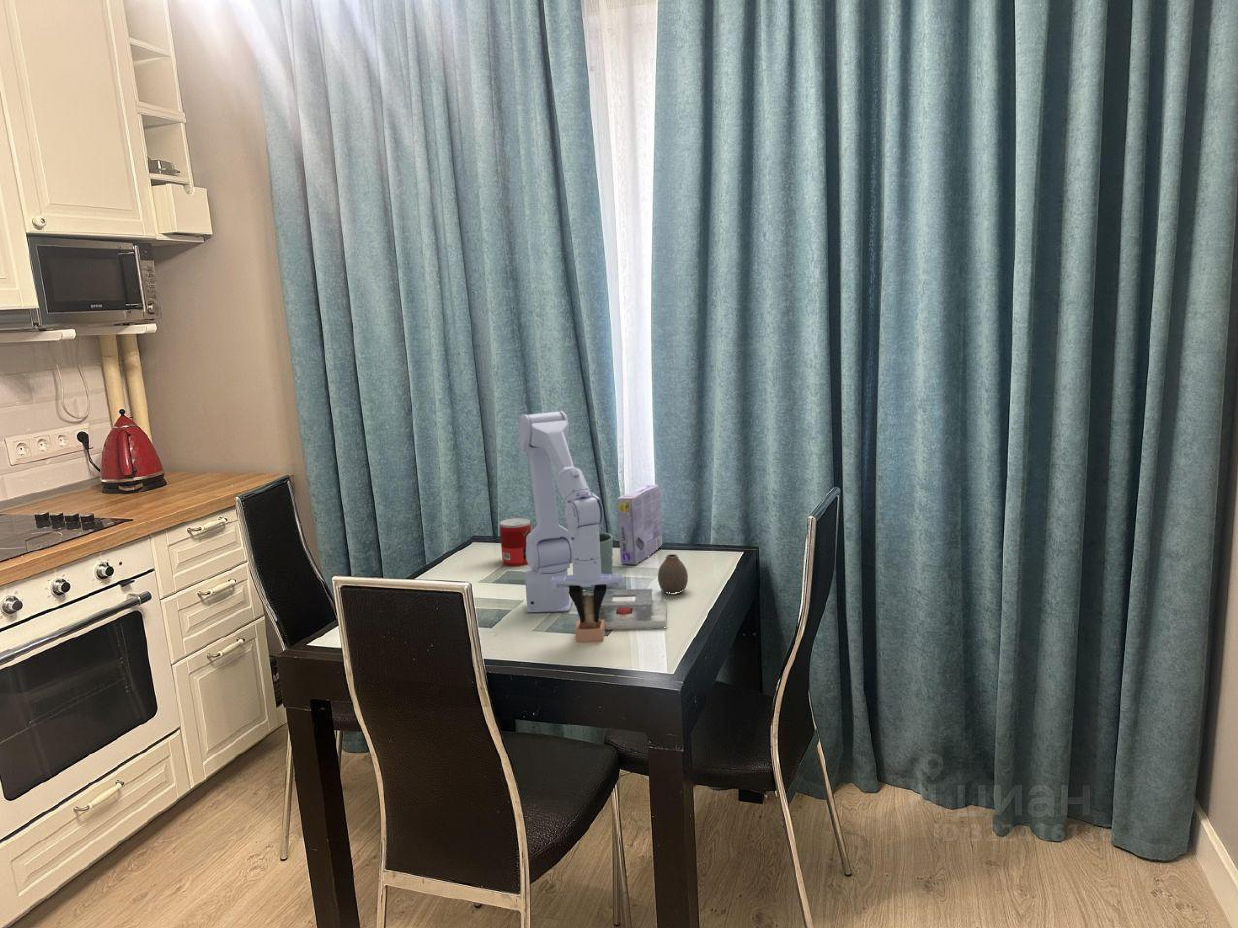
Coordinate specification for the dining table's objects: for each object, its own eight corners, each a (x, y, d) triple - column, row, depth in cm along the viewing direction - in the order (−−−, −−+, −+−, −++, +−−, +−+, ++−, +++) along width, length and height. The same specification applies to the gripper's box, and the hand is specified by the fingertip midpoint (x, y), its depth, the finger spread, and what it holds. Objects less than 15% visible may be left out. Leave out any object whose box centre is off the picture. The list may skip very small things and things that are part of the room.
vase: (663, 598, 208) (662, 561, 206) (654, 589, 214) (653, 553, 213) (692, 594, 209) (691, 557, 208) (682, 585, 216) (681, 549, 214)
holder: (575, 641, 184) (574, 630, 184) (578, 631, 190) (577, 620, 189) (603, 641, 184) (602, 629, 183) (605, 630, 189) (604, 619, 189)
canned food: (531, 565, 237) (528, 524, 235) (500, 566, 237) (497, 526, 235) (534, 557, 244) (531, 517, 242) (504, 558, 245) (501, 518, 243)
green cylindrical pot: (610, 593, 213) (607, 543, 211) (568, 592, 215) (565, 542, 213) (618, 579, 223) (616, 531, 220) (578, 578, 225) (576, 531, 222)
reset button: (617, 619, 195) (617, 608, 194) (618, 614, 198) (617, 603, 197) (630, 619, 195) (630, 608, 194) (631, 614, 198) (630, 603, 197)
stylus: (583, 632, 186) (581, 597, 184) (585, 628, 188) (583, 593, 187) (595, 632, 185) (593, 597, 184) (596, 628, 188) (595, 593, 186)
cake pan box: (648, 544, 251) (646, 482, 248) (665, 546, 249) (663, 483, 246) (618, 565, 234) (615, 498, 231) (636, 566, 232) (633, 499, 229)
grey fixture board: (580, 630, 190) (578, 610, 190) (585, 608, 203) (584, 589, 202) (666, 628, 189) (665, 608, 188) (666, 606, 202) (665, 587, 201)
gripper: (547, 563, 180) (551, 628, 183) (621, 561, 179) (624, 626, 182) (552, 553, 187) (556, 615, 190) (622, 551, 186) (625, 614, 189)
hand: (589, 620), depth 186 cm, fingers closed on stylus, 2 cm apart
